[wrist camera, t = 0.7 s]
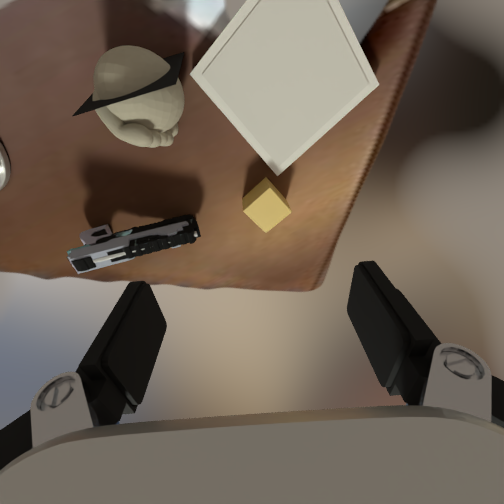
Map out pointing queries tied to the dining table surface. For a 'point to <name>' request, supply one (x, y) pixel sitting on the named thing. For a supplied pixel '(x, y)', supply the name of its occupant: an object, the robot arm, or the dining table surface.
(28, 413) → the robot arm
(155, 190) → the dining table surface
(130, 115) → the decorative object
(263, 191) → the mustard cube
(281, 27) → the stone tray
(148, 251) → the toy gun
